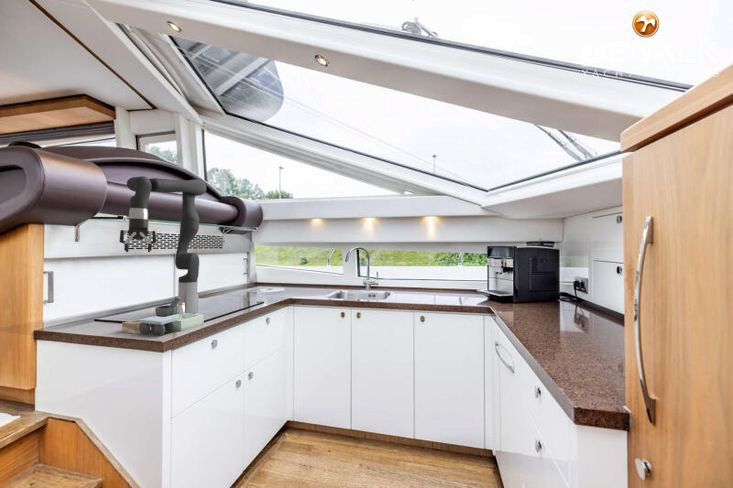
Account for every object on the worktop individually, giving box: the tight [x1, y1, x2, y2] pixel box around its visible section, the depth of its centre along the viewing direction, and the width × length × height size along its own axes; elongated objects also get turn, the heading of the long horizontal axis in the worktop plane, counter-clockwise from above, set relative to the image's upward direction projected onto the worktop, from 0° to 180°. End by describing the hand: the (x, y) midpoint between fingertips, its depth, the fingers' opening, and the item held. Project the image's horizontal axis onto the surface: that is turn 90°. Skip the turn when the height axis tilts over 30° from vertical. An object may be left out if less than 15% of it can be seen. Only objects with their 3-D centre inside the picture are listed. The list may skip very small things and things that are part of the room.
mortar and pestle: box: [154, 295, 181, 317], centre depth 162 cm, size 11×9×12 cm
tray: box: [163, 313, 205, 332], centre depth 150 cm, size 13×13×4 cm
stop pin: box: [179, 302, 185, 320], centre depth 150 cm, size 2×2×10 cm
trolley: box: [139, 315, 176, 336], centre depth 139 cm, size 13×7×6 cm, turn 74°
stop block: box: [121, 318, 150, 334], centre depth 142 cm, size 7×7×4 cm
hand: (138, 252), depth 156 cm, fingers open, 8 cm apart
